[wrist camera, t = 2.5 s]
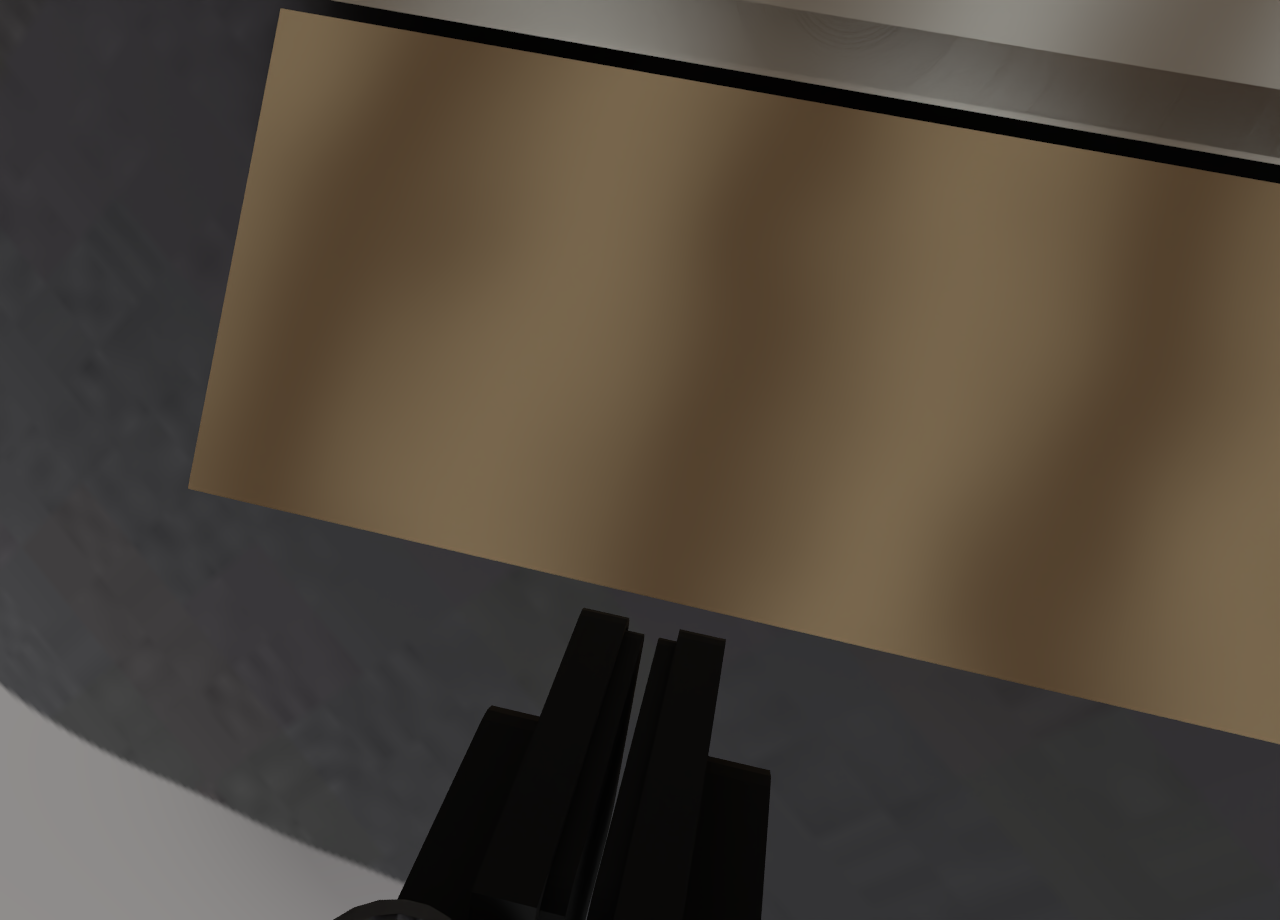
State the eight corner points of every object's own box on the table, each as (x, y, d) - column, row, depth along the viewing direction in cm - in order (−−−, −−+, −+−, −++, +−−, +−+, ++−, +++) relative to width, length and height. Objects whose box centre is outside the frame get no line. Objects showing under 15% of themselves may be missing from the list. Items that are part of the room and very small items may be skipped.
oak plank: (1361, 237, 18) (1438, 211, 16) (1244, 716, 18) (1304, 749, 16) (327, 51, 20) (280, 8, 18) (243, 483, 20) (187, 488, 18)
